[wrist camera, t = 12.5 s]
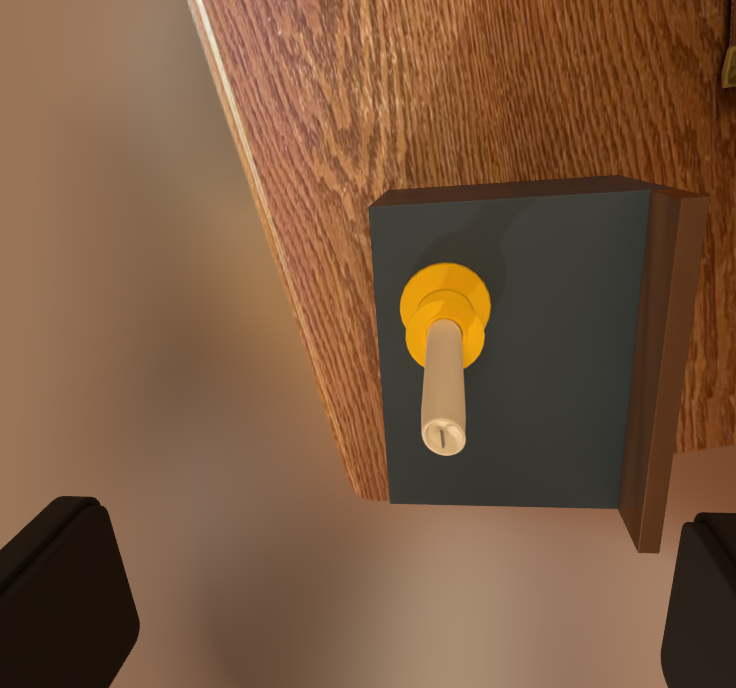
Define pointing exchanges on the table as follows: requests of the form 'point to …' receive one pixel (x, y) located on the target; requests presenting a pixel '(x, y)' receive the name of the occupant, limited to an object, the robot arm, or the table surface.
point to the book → (730, 54)
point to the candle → (444, 345)
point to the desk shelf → (548, 342)
